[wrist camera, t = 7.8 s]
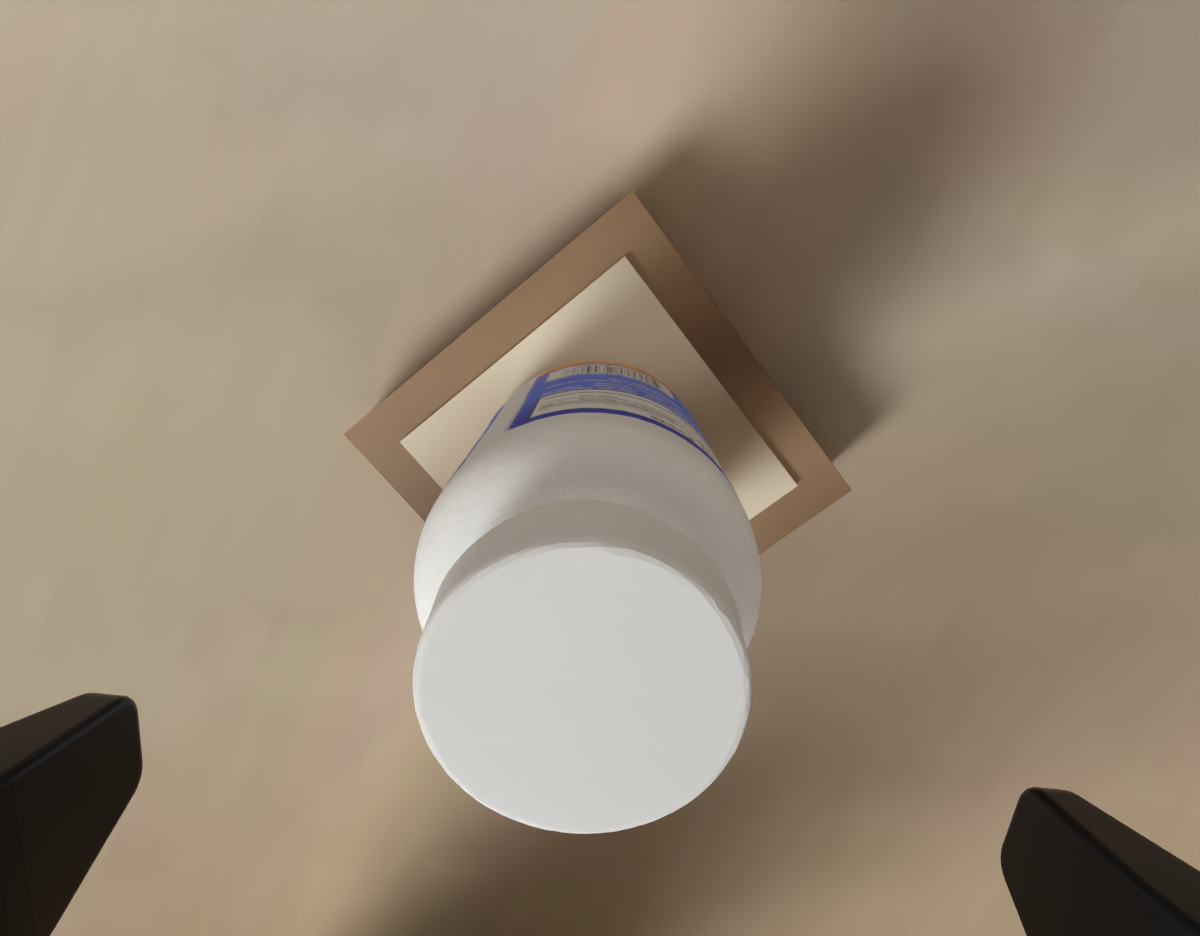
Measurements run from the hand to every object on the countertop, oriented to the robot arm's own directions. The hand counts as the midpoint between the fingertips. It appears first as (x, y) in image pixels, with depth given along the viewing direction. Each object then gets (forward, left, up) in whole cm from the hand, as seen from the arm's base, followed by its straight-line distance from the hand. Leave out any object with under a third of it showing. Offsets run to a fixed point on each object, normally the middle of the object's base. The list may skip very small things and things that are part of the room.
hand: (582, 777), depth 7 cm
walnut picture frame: (0, 0, -13) cm, 13 cm away
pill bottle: (0, 0, -11) cm, 11 cm away
